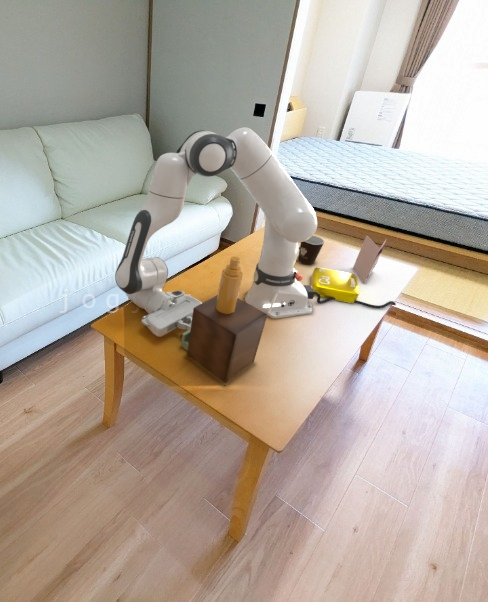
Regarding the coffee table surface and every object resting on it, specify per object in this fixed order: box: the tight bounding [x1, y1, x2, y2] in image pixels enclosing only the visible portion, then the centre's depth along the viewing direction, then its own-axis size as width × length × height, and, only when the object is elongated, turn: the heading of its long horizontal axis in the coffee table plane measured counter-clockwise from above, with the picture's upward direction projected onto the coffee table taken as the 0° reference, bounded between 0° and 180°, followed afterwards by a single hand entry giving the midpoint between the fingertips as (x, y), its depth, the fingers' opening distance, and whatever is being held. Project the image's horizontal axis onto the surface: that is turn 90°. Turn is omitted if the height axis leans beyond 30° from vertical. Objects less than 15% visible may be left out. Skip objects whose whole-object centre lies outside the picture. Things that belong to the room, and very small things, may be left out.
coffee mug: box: [297, 235, 325, 266], centre depth 155 cm, size 12×9×10 cm
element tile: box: [310, 266, 360, 304], centre depth 138 cm, size 15×15×5 cm
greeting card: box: [352, 235, 387, 284], centre depth 143 cm, size 11×7×15 cm, turn 139°
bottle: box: [216, 256, 244, 314], centre depth 94 cm, size 5×5×15 cm
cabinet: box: [186, 294, 268, 387], centre depth 103 cm, size 14×13×18 cm
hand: (194, 328), depth 112 cm, fingers closed, pressing on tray
